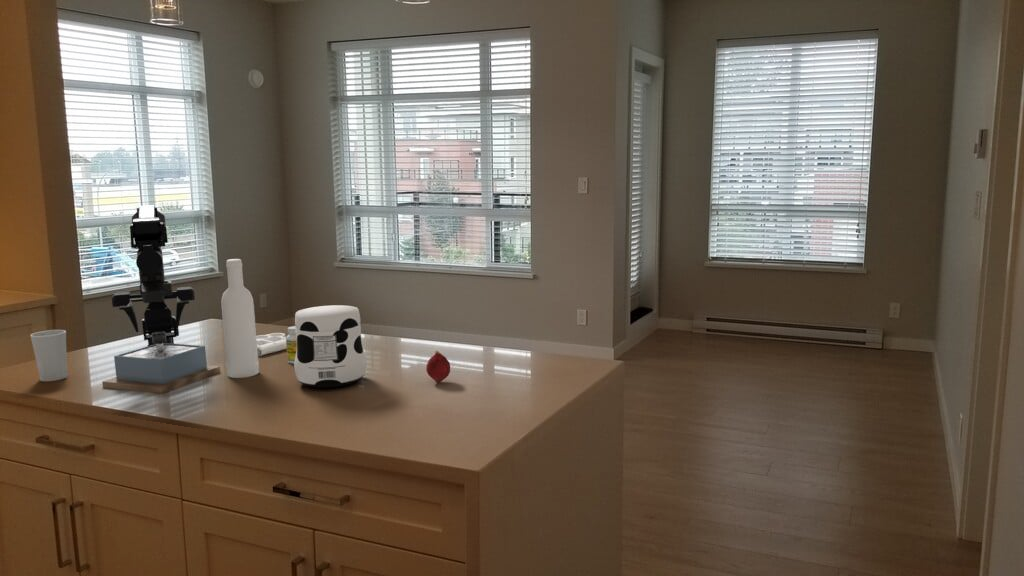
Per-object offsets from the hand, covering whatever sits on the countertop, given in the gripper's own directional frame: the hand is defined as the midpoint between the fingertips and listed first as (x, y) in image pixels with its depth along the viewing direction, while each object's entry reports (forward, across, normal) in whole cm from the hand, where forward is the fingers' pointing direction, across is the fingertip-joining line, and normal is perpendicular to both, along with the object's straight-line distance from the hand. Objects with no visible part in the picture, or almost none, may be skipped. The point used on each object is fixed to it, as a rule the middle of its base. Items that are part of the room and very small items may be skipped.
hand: (157, 330), depth 199 cm
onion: (+13, +62, -37) cm, 73 cm away
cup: (+13, -26, +16) cm, 33 cm away
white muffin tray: (+14, +27, +22) cm, 37 cm away
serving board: (+13, 0, 0) cm, 13 cm away
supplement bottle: (+13, +34, +2) cm, 37 cm away
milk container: (+13, +39, -24) cm, 47 cm away
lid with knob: (+6, 0, 0) cm, 6 cm away
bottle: (+13, +19, -5) cm, 24 cm away
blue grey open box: (+11, -1, +1) cm, 11 cm away
